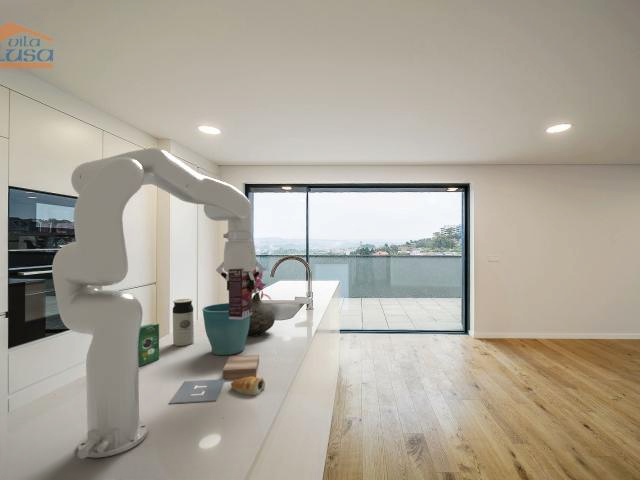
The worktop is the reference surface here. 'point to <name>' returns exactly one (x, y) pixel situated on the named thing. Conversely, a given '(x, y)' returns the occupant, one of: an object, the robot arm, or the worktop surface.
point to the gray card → (198, 391)
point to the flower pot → (224, 330)
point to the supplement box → (239, 294)
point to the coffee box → (148, 344)
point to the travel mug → (183, 322)
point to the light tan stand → (241, 366)
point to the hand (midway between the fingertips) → (240, 291)
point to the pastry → (248, 385)
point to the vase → (260, 310)
